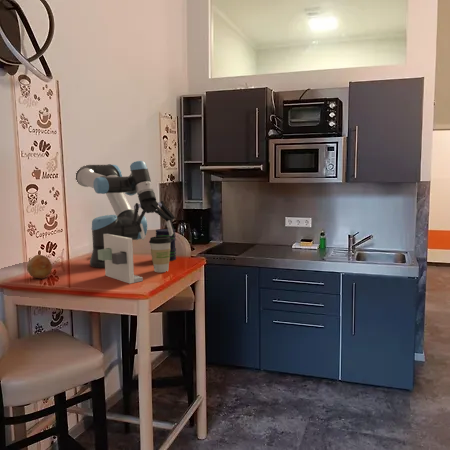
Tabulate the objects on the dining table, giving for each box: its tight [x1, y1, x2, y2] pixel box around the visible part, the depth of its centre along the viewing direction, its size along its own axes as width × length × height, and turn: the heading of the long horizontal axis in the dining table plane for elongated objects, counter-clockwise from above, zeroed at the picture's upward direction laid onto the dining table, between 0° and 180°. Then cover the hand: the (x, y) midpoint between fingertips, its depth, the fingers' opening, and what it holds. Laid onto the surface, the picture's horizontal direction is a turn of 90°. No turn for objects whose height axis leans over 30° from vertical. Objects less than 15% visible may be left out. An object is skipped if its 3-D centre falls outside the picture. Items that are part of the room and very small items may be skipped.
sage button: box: [98, 248, 112, 261], centre depth 197 cm, size 4×6×4 cm, turn 132°
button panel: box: [103, 234, 144, 284], centre depth 195 cm, size 20×6×18 cm, turn 42°
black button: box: [112, 252, 127, 265], centre depth 188 cm, size 4×6×4 cm, turn 132°
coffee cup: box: [148, 236, 171, 273], centre depth 208 cm, size 10×10×15 cm
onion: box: [26, 254, 53, 279], centre depth 198 cm, size 10×10×10 cm
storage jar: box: [155, 228, 177, 262], centre depth 234 cm, size 10×10×15 cm
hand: (158, 236), depth 207 cm, fingers open, 13 cm apart
